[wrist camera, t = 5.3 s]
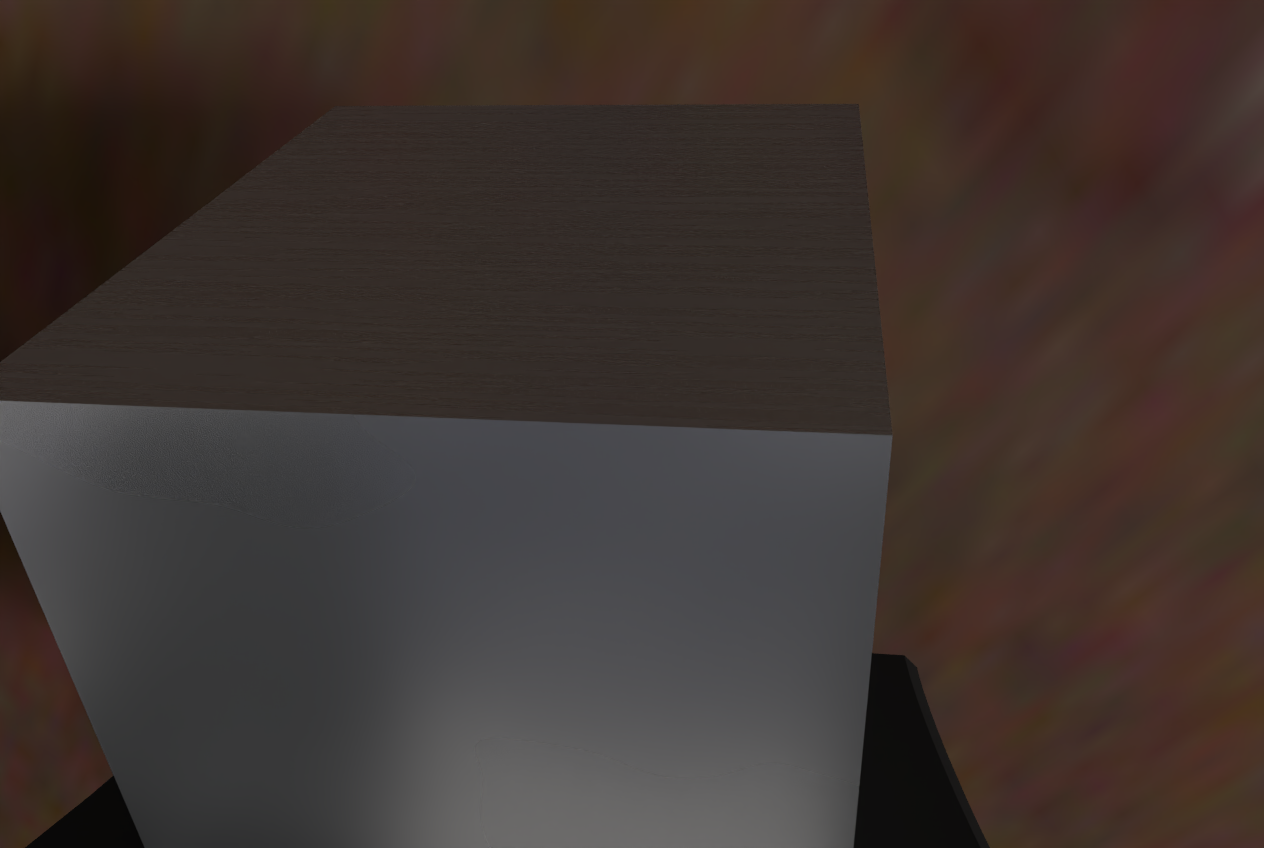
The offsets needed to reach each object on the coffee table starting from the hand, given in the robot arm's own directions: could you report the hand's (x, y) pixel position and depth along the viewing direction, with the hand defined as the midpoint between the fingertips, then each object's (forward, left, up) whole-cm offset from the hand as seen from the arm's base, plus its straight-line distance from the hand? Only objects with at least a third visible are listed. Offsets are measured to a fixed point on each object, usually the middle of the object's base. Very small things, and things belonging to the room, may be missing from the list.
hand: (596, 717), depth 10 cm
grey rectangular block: (0, 0, -1) cm, 1 cm away
